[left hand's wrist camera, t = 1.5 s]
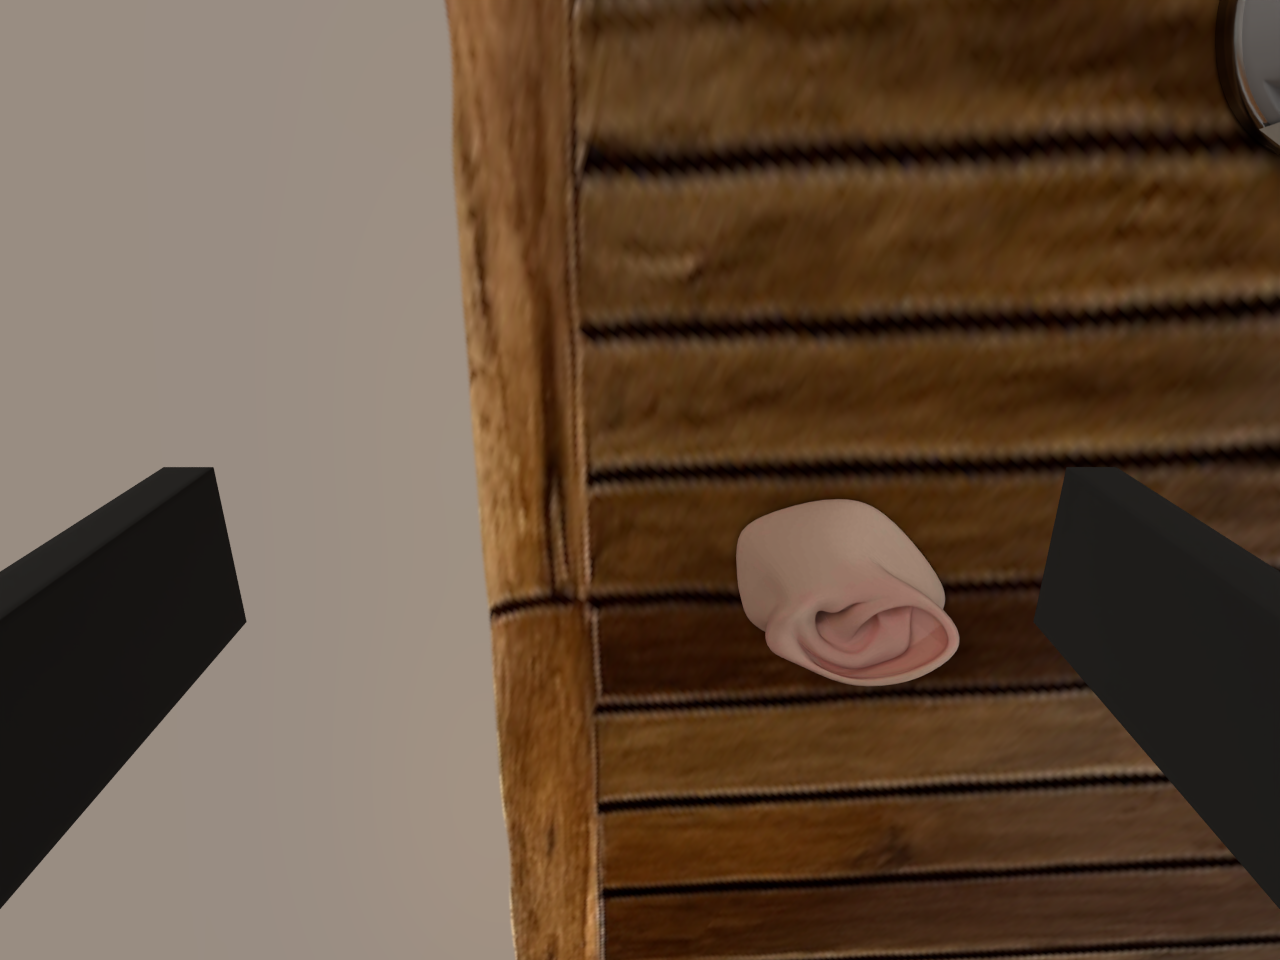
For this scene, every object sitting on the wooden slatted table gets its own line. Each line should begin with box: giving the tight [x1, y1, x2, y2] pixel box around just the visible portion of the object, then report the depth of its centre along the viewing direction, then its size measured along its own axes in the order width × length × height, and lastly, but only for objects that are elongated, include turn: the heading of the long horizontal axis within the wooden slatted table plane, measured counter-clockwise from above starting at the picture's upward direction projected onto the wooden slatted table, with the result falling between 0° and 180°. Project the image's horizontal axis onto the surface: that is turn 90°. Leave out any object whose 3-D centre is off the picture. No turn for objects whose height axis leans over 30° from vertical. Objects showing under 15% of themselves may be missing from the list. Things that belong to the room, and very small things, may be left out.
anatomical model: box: [736, 499, 959, 686], centre depth 48 cm, size 13×4×12 cm
